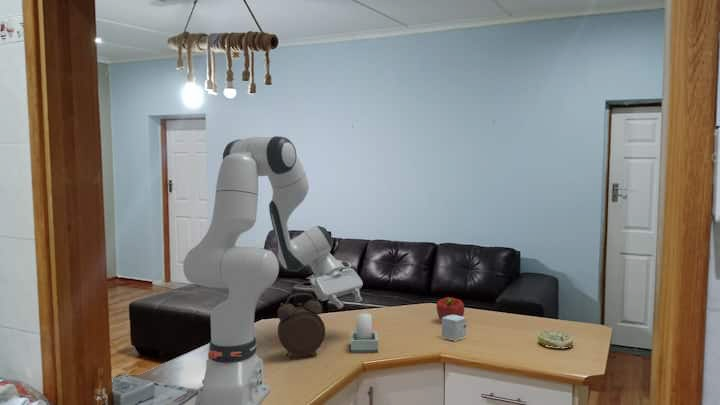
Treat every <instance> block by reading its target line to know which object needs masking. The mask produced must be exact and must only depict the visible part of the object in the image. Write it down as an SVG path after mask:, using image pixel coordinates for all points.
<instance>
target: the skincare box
mask: <svg viewBox="0 0 720 405" xmlns="http://www.w3.org/2000/svg"><path fill="white" fill-rule="evenodd" d="M464 336H466V337H467V317H466V316H463V317H462V316H458V315H454V314H452V315H448V316H445V317H442V321H441V338H442V337H445V338H448V339H453V340H457V339H459V338H462V337H464Z"/></svg>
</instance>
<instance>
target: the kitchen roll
mask: <svg viewBox="0 0 720 405" xmlns="http://www.w3.org/2000/svg"><path fill="white" fill-rule="evenodd" d="M372 317H373V316H372V314H371V313H368V312H362V313H361V312H360V313H357V314H356V316H355V318H356V321H355V322H356V323H355V324H356V325H355V326H356V327H355V328H356V330H355V332H356V335H357V340H372V332H373V329H372V328H373V325H372V323H373V322H372V321H373V318H372Z"/></svg>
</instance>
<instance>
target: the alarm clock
mask: <svg viewBox="0 0 720 405" xmlns="http://www.w3.org/2000/svg"><path fill="white" fill-rule="evenodd" d="M299 296H309V297H311V299H309V300H307V301H306V302H305V303H304V305H303V302H298V303H297V306H299V307H295V306H294V304H292V303H289V302H290V300H291V299H292V298H295V297H299ZM322 311H323V306H322V303H321V302H320V301H319V299H318V297H316V298H315V297H314V296H313V294H311V293H307V292H301V293H293V294H291V295H289V296H288V297H287V299H286V301H285V303H283V302H281V303H280V306H279V307H278V309H277V311H276V312H277V317H278V320H279V323H278V325H277V336H278V339H279V341H280V343H281V345H282V347H283V348H284V350H286V351H287V353H286V354H285V356H286V357H289V354H290V357H289V359H293V357H294V356H299V357H303V356H304V357H305V356H308V355H310V354H312V353H314V355H315V356H317V354H318V353H317V352H316V351H317V350H318V349H319V348H320V347H321V346H322V344H323V342H324V339H325V335H326V326H325V323H324V321H323V319H322V318H321V317H320V315H321V314H322Z"/></svg>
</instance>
